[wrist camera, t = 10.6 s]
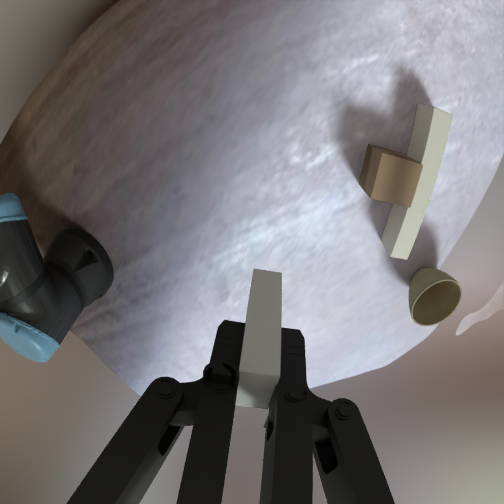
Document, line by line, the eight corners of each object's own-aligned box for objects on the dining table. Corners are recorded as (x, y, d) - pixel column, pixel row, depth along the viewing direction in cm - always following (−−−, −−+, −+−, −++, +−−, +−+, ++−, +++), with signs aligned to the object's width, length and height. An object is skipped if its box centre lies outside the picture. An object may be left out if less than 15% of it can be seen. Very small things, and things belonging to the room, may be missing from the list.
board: (379, 239, 42) (389, 256, 38) (416, 103, 31) (433, 106, 27) (396, 243, 42) (407, 259, 38) (434, 110, 31) (452, 114, 27)
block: (358, 183, 38) (370, 198, 33) (368, 143, 35) (382, 152, 30) (394, 192, 38) (410, 208, 33) (405, 154, 35) (423, 165, 30)
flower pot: (389, 293, 48) (400, 321, 42) (417, 248, 43) (434, 272, 36) (426, 305, 48) (439, 330, 42) (454, 264, 43) (471, 287, 37)
